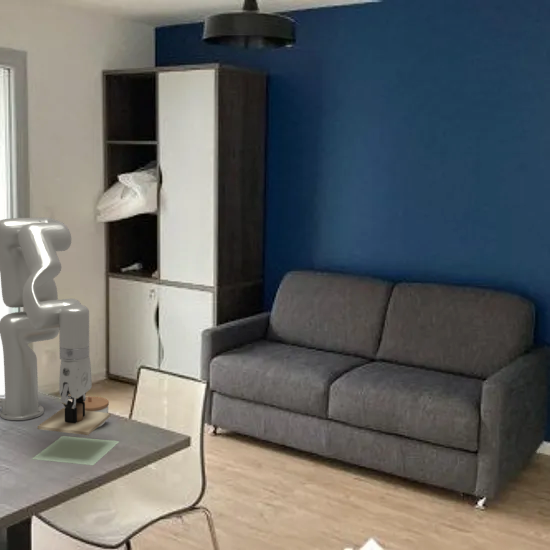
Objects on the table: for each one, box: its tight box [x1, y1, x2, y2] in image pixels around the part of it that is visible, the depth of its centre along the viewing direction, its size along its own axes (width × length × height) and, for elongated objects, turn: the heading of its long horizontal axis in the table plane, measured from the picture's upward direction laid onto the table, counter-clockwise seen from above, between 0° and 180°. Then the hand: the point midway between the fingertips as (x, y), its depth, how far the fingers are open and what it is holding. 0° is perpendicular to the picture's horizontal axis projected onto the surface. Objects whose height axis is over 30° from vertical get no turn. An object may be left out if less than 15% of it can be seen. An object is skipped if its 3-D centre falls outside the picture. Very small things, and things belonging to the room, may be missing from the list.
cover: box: [37, 403, 111, 436], centre depth 200 cm, size 14×14×5 cm
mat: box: [31, 435, 120, 466], centre depth 201 cm, size 17×17×1 cm
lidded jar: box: [85, 395, 110, 429], centre depth 219 cm, size 11×11×9 cm
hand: (75, 418), depth 200 cm, fingers closed on cover, 4 cm apart
